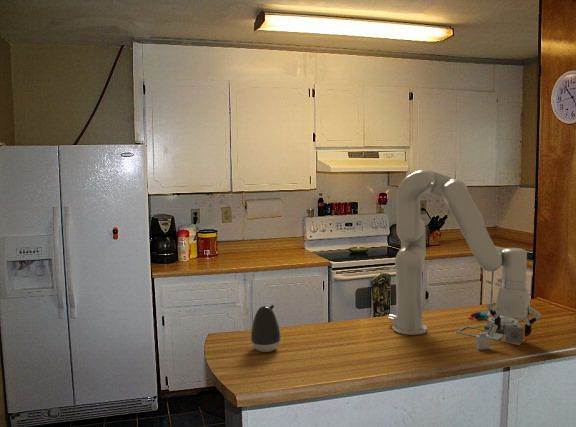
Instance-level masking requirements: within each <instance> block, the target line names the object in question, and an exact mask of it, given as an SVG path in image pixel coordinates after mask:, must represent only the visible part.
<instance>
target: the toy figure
mask: <svg viewBox="0 0 576 427" xmlns="http://www.w3.org/2000/svg"><path fill="white" fill-rule="evenodd" d="M494 310H495V312H496V309H494ZM469 315H470V316H469V317H468V319H467V320H473V319H488V318H490V317H492V315H491V313H490V312H489V311H488V312H482V311H476V312H475V313H471V314H469Z"/></svg>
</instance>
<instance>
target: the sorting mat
mask: <svg viewBox="0 0 576 427" xmlns="http://www.w3.org/2000/svg"><path fill="white" fill-rule="evenodd" d="M466 328H468V329H475V330H479V331H483V332H485V333H486V334H487V333H488V330H487V329H484V328H483V329H482V328H477V327H472V326H468V325H465V326H464V327H462V328H460V329H459V330H457V331H456V333H457V334H462V335H467V336H470V337H475V338H476V335H473V334H469V333H465V332H461V331H463V330H464V329H466ZM501 338H502V339H501ZM490 339H491V340H493V341H499V340H500V339H501V340H500V342H503V343H507V344H512V345H516V346H520V345H521V344H522V343H518V342H507V341H506V339H505V338H504V334H500V333H496V332H495V334H494V336H493V337H491V336H490V338H489V340H490ZM523 342H525V338H523Z"/></svg>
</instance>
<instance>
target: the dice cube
mask: <svg viewBox="0 0 576 427" xmlns="http://www.w3.org/2000/svg"><path fill="white" fill-rule="evenodd" d="M523 332H524V328H523V326H522V324H520V323H519V324H512V323H504V333H503V335H504V336H503V339H504V338H505V339H506V341H507V342H518V343H521V344H522V343H523V342H524V341H523V339H524V338H523V337H524V336H523V335H524V333H523ZM507 342H506V343H507Z"/></svg>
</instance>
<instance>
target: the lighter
mask: <svg viewBox="0 0 576 427" xmlns="http://www.w3.org/2000/svg"><path fill="white" fill-rule="evenodd" d="M497 327H498V326H497V325H495V324H493V323H492V324H491V326H490V328H489V330H487V331H488V333H487V334H486V333H485V332H486V331H483V332H479V333H478V334H476V335H475V336H476V337H475V349H477V350H487V349H490V339H489V338H490V336H491V337H493V336H494V334H495V333H496V332H497V331H496V330H497Z"/></svg>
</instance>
